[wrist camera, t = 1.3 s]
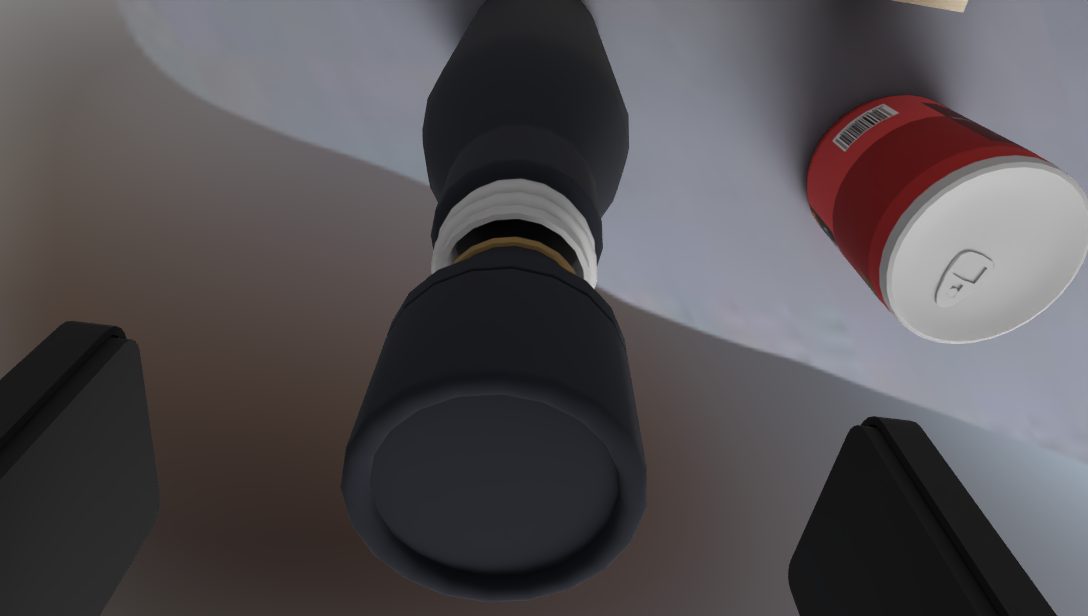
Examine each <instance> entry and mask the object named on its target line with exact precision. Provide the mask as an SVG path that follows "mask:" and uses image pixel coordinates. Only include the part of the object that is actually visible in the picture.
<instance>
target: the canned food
mask: <svg viewBox="0 0 1088 616" xmlns="http://www.w3.org/2000/svg"><path fill="white" fill-rule="evenodd" d="M807 195H808V202H809V206H810V209H811V212H812V214H813V216H814V218H815V219H816V221H817V223H818V224H819V226H820V227H821V228H822V229H823V231H824V232H825V233H826V234H827V235H828V237H829V238H830V239H831V240H832V242H833V243H834V244H835V245H836V247H837V248H838V249H839V250H840V252H841V253H842V254H843V255H844V257H845V258H846V259H847V260H848V262H849V263H850V264H851V265H852V266H853V268H854V269H855V270H856V271H857V273H858V274H859V275H860V276H861V278H862V279H863V280H864V281H865V283H866V284H867V285H868V286H869V288H870V289H871V290H872V291H873V293H874V294H875V295H876V296H877V297H878V299H879V300H880V301H881V302H882V303H883V304H884V305H885V306H886V308H887V309H888V310H889V311H890V312H891V314H892V315H893V316H894V317H895V318H896V319H897V320H898V321H899V322H900V323H901V324H903V325H905V326H906V327H907V328H908V329H909V330H910V331H912V332H914V333H915V334H917V335H919V336H920V337H923V338H926V339H929V340H932V341H935V342H941V343H950V344H962V343H974V342H978V341H983V340H987V339H992V338H994V337H997V336H1000V335H1002V334H1005V333H1008V332H1010V331H1012V330H1014V329H1016V328H1018V327H1019V326H1021V325H1023V324H1025V323H1027V322H1029V321H1030V320H1032V319H1033V318H1034V317H1036V316H1037V315H1038V314H1040V313H1041V312H1043V311H1044V310H1045V309H1046V308H1048V307H1049V306H1050V305H1051V304H1052V303H1053V302H1054V301H1055V300H1056V299H1057V298H1058V297H1059V296H1060V295H1061V294H1062V293H1063V292H1064V290H1065V289H1066V288H1067V287H1068V285H1069V284H1070V283H1071V281H1072V280H1073V279H1074V277H1075V276H1076V274H1077V272H1078V270H1079V269H1080V267H1081V265H1082V263H1083V261H1084V259H1085V256H1086V253H1087V250H1088V200H1087V197H1086V195H1085V193H1084V191H1083V190H1082V189H1081V187H1080V186H1079V185H1078V184H1077V182H1076V181H1075V180H1074V179H1072V178H1071V177H1070V176H1068V174H1067V173H1065V172H1064V171H1062V170H1061V169H1060V168H1058V167H1057V166H1055V165H1054V164H1052V163H1050V162H1049V161H1047V160H1045V159H1043V158H1041V157H1040V156H1038V155H1037V154H1035V153H1033V152H1031V151H1029V150H1027V149H1025V148H1023V147H1021V146H1020V145H1018V144H1016V143H1014V142H1012V141H1010V140H1008V139H1006V138H1004V137H1002V136H1000V135H998V134H996V133H995V132H993V131H991V130H989V129H987V128H985V127H983V126H981V125H979V124H977V123H975V122H973V121H972V120H970V119H968V118H966V117H964V116H962V115H960V114H958V113H956V112H954V111H952V110H950V109H948V108H947V107H945V106H943V105H941V104H939V103H937V102H935V101H932V100H929V99H927V98H924V97H920V96H912V95H899V96H888V97H883V98H879V99H875V100H872V101H869V102H866V103H864V104H862V105H860V106H858V107H856V108H854V109H853V110H851V111H850V112H848V113H847V114H845V115H844V116H842V117H841V118H840V119H839V120H838V121H837V122H836V123H835V124H834V125H833V126H832V127H830V129H829V130H828V131H827V133H826V134H825V135H824V136H823V138H822V139H821V140H820V142H819V144H818V146H817V148H816V149H815V151H814V153H813V156H812V159H811V162H810V165H809V168H808V175H807Z"/></svg>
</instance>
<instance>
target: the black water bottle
mask: <svg viewBox="0 0 1088 616" xmlns="http://www.w3.org/2000/svg"><path fill="white" fill-rule="evenodd" d="M422 131H423V147H424V154H425V160H426V166H427V172H428V178H429V183H430V188H431V190H432V191H433V194H434V195H435V197H436V199H437V201H438V205H437V207H436V210H435V216H434V221H433V227H432V232H431V238H432V244H433V250H434V252H433V258H432V264H431V271H432V275H431V276H430V277H428V278H427V279H426V280H425V281H423V282H422V283H421V284H420V285H418V286H417V287H416V288H415V289H413V291H411V292H410V293H409V294H408V296H407V298H406V299H405V301H404V303H403V304H402V306H401V308H400V309H399V311H398V313H397V315H396V316H395V318H394V320H393V321H392V324H391V326H390V329H389V332H388V334H387V338H386V340H385V343H384V345H383V348H382V351H381V354H380V356H379V359H378V362H377V365H376V368H375V370H374V373H373V376H372V378H371V381H370V384H369V386H368V389H367V392H366V395H365V397H364V400H363V403H362V406H361V408H360V411H359V414H358V417H357V419H356V422H355V425H354V428H353V430H352V433H351V436H350V439H349V441H348V444H347V447H346V452H345V459H344V467H343V473H342V481H341V490H342V494H343V497H344V501H345V504H346V508H347V511H348V515H349V519H350V522H351V524H352V526H353V527H354V529H355V530H356V531H357V533H358V534H359V535H360V537H361V538H362V539H363V541H364V542H365V543H366V545H367V546H368V548H369V549H370V550H371V552H372V553H373V554H374V555H375V556H376V557H378V558H379V559H380V560H382V561H383V562H384V563H386V564H387V565H388V566H390V567H391V568H392V569H394V570H395V571H396V572H398V573H399V574H401V575H402V576H403V577H405V578H406V579H408V580H410V581H412V582H415V583H417V584H420V585H422V586H425V587H427V588H429V589H432V590H434V591H437V592H440V593H442V594H444V595H448V596H454V597H460V598H466V599H472V600H478V601H484V602H501V601H521V600H522V601H523V600H532V599H536V598H540V597H543V596H547V595H551V594H554V593H558V592H561V591H565V590H569V589H571V588H573V587H575V586H576V585H578V584H580V583H582V582H584V581H585V580H587V579H589V578H591V577H592V576H594V575H596V574H598V573H599V572H601V571H603V570H605V569H606V568H607V567H608V566H609V565H610V564H611V563H612V562H613V561H614V560H615V559H616V557H617V556H618V555H619V554H620V553H621V552H622V551H623V550H624V549H625V548H626V547H627V546H628V545H629V544H630V543H631V541H632V540H633V538H634V535H635V533H636V530H637V528H638V526H639V523H640V521H641V518H642V516H643V514H644V511H645V509H646V506H647V478H646V477H647V476H646V462H645V457H644V451H643V445H642V439H641V433H640V428H639V421H638V416H637V410H636V404H635V398H634V392H633V387H632V381H631V375H630V369H629V363H628V358H627V353H626V347H625V340H624V337H623V335H622V332H621V330H620V327H619V325H618V323H617V320H616V318H615V315H614V313H613V311H612V308H611V307H610V306H609V305H608V304H607V303H606V301H605V300H604V299H603V298H602V297H601V296H600V295H599V294H598V293H597V292H596V291H595V285H596V282H597V265H598V262H599V259H600V255H601V252H602V249H603V241H602V221H601V217H602V216H603V215H604V213H605V212H606V210H607V209H608V208H609V206H610V205H611V203H612V202H613V199H614V197H615V194H616V191H617V189H618V185H619V182H620V179H621V176H622V172H623V169H624V166H625V163H626V159H627V154H628V150H629V123H628V113H627V110H626V107H625V104H624V102H623V99H622V96H621V93H620V90H619V87H618V85H617V82H616V79H615V77H614V74H613V71H612V68H611V66H610V63H609V60H608V58H607V55H606V52H605V49H604V47H603V44H602V41H601V39H600V36H599V33H598V30H597V28H596V25H595V22H594V20H593V17H592V15H591V14H590V12H589V11H588V10H587V9H586V7H585V6H584V5H583V3H582V2H581V1H580V0H487V1H486V2H485V3H484V4H483V5H482V6H481V7H480V9H479V11H478V12H477V14H476V16H475V17H474V19H473V21H472V22H471V24H470V26H469V27H468V29H467V31H466V32H465V34H464V36H463V37H462V39H461V41H460V42H459V44H458V46H457V47H456V49H455V51H454V52H453V54H452V56H451V57H450V59H449V61H448V62H447V64H446V66H445V67H444V69H443V71H442V73H441V75H440V76H439V78H438V80H437V82H436V84H435V86H434V88H433V90H432V91H431V93H430V95H429V97H428V100H427V106H426V112H425V118H424V124H423V130H422Z"/></svg>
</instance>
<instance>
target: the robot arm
mask: <svg viewBox="0 0 1088 616" xmlns="http://www.w3.org/2000/svg"><path fill="white" fill-rule="evenodd" d="M159 508H160V492H159V485H158V478H157V471H156V464H155V457H154V449H153V442H152V436H151V428H150V422H149V414H148V407H147V400H146V394H145V386H144V379H143V371H142V365H141V357H140V351H139V347H138V344H137V343H136V341H134V340H130V339H126V336H125V333H124V332H123V330H122V329H121V328H119V327H117V326H110V325H102V324H94V323H85V322H77V321H69V322H65V323H63V324H62V325H60V326H59V327H58V328H57V329H56V330H55V331H53V332H52V333H51V334H50V335H49V336H48V337H47V338H46V339H45V340H44V341H43V342H41V343H40V344H39V345H38V346H37V347H36V348H35V349H34V350H33V351H32V352H30V353H29V354H28V355H27V356H26V357H25V358H24V359H23V360H22V361H21V362H19V363H18V364H17V365H16V366H15V367H14V368H13V369H12V370H11V371H10V372H8V373H7V374H6V375H5V376H4V377H3V378H2V379H1V380H0V616H100V614H101V613H102V611H103V609H104V608H105V606H106V604H107V603H108V601H109V599H110V598H111V596H112V594H113V593H114V591H115V590H116V587H117V586H118V585H119V583H120V581H121V580H122V578H123V576H124V575H125V573H126V571H127V570H128V568H129V566H130V565H131V563H132V561H133V560H134V558H135V556H136V555H137V553H138V551H139V550H140V548H141V546H142V545H143V543H144V541H145V540H146V538H147V536H148V535H149V533H150V532H151V530H152V528H153V526H154V524H155V522H156V519H157V516H158V512H159ZM788 579H789V586H790V589H791V592H792V595H793V598H794V601H795V604H796V606H797V609H798V612H799V614H800V616H1057V615H1056V614H1055V612H1054V611H1053V610H1052V608H1051V607H1050V605H1049V604H1048V603H1047V601H1046V600H1045V599H1044V597H1043V596H1042V594H1041V593H1040V592H1039V590H1038V589H1037V587H1036V586H1035V585H1034V583H1033V582H1032V580H1031V579H1030V578H1029V576H1028V575H1027V573H1026V572H1025V571H1024V569H1023V568H1022V567H1021V565H1020V564H1019V562H1018V561H1017V560H1016V558H1015V557H1014V556H1013V554H1012V553H1011V551H1010V550H1009V549H1008V547H1007V546H1006V544H1005V543H1004V542H1003V540H1002V539H1001V537H1000V536H999V535H998V533H997V532H996V531H995V529H994V528H993V526H992V525H991V524H990V522H989V521H988V519H987V518H986V517H985V516H984V514H983V512H982V511H981V510H980V508H979V507H978V506H977V504H976V503H975V502H974V500H973V499H972V497H971V496H970V495H969V493H968V492H967V490H966V489H965V488H964V486H963V485H962V483H961V482H960V481H959V479H958V478H957V476H956V475H955V474H954V472H953V471H952V470H951V468H950V467H949V466H948V464H947V463H946V461H945V460H944V458H943V457H942V456H941V454H940V453H939V451H938V450H937V449H936V447H935V446H934V445H933V443H932V442H931V440H930V439H929V438H928V436H927V435H926V433H925V432H924V431H923V429H922V428H921V427H920V426H919V425H918V424H917V423H916V422H913V421H908V420H899V419H891V418H882V417H875V416H873V417H868V418H867V419H866V420H865V421H863V423H862V424H861V426H860V425H857V426H854V427H853V428H851V429H850V431H849V433H848V434H847V436H846V439H845V441H844V443H843V445H842V448H841V450H840V452H839V455H838V456H837V459H836V461H835V463H834V465H833V468H832V470H831V472H830V474H829V476H828V479H827V481H826V483H825V485H824V488H823V490H822V492H821V494H820V497H819V499H818V501H817V503H816V505H815V508H814V510H813V512H812V514H811V517H810V519H809V521H808V523H807V526H806V528H805V530H804V532H803V534H802V537H801V539H800V541H799V543H798V545H797V548H796V550H795V552H794V554H793V556H792V559H791V561H790V564H789V573H788Z"/></svg>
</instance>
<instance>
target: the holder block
mask: <svg viewBox="0 0 1088 616" xmlns="http://www.w3.org/2000/svg"><path fill="white" fill-rule="evenodd" d="M892 1H898V2H904V3H910V4H916V5H922V6H928V7H934V8H940V9H946V10H952V11H958V12H964V9H965V7H966V4H967V2H968V0H892Z"/></svg>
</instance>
